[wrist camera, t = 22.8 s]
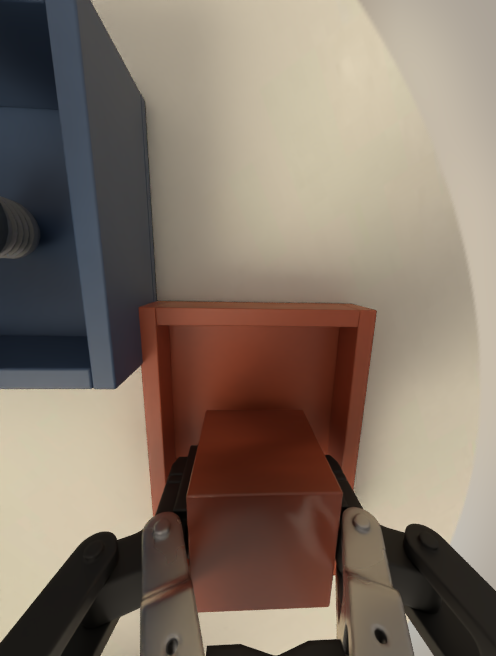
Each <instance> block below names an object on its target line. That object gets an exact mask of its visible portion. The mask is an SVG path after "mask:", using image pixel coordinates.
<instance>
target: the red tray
mask: <svg viewBox="0 0 496 656" xmlns="http://www.w3.org/2000/svg"><path fill="white" fill-rule="evenodd" d="M376 313H377V311H376V310H373V309H370V308H366V307H362V306H358V305H354V304H332V303H262V302H191V301H155V302H152V303H149V304H146V305H143V306H140V307H139V321H140V334H141V347H142V360H143V363H142V365H141V368H142V381H143V394H144V407H145V419H146V432H147V445H148V458H149V470H150V483H151V496H152V508H153V517H154V516H155V514H156V511H157V508H158V505H159V502H160V499H161V497H162V494H163V491H164V488H165V485H166V483H167V479H168V476H169V473H170V470H171V467H172V464H173V463H174V462H175V461H176V460H177V459H178V458H179V457H188V453H189V449H190V446H191V445H198V443H199V438H200V434H201V430H202V425H203V421H204V417H205V412H206V410H303V411H304V413H305V415H306V417H307V419H308V421H309V424H310V426H311V428H312V430H313V432H314V434H315V436H316V438H317V440H318V442H319V444H320V446H321V448H322V450H323V453H324V455H331V456H332V457H333V458H334V459H335V460H336V461H337V462H338V463H339V465H340V467H341V469H342V471H343V473H344V475H345V476H346V478H347V480H348V482H349V484H350V486H351V488H352V489H353V487H354V480H355V472H356V465H357V457H358V450H359V442H360V434H361V427H362V419H363V412H364V404H365V396H366V389H367V381H368V374H369V366H370V358H371V351H372V343H373V336H374V328H375V321H376ZM187 562H188V568H189V559H187ZM333 575H336V560H335V563H334V572H333Z"/></svg>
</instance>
